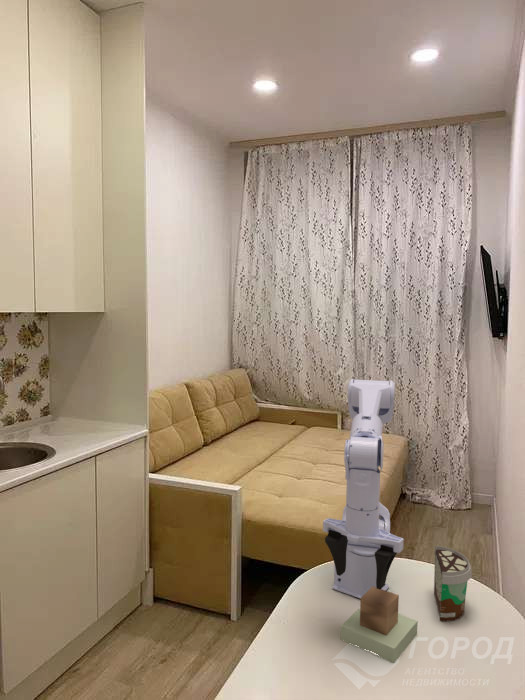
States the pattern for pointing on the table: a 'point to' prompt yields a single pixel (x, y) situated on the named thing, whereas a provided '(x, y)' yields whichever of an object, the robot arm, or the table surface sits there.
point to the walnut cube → (379, 610)
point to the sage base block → (380, 636)
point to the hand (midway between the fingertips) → (360, 579)
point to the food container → (450, 582)
